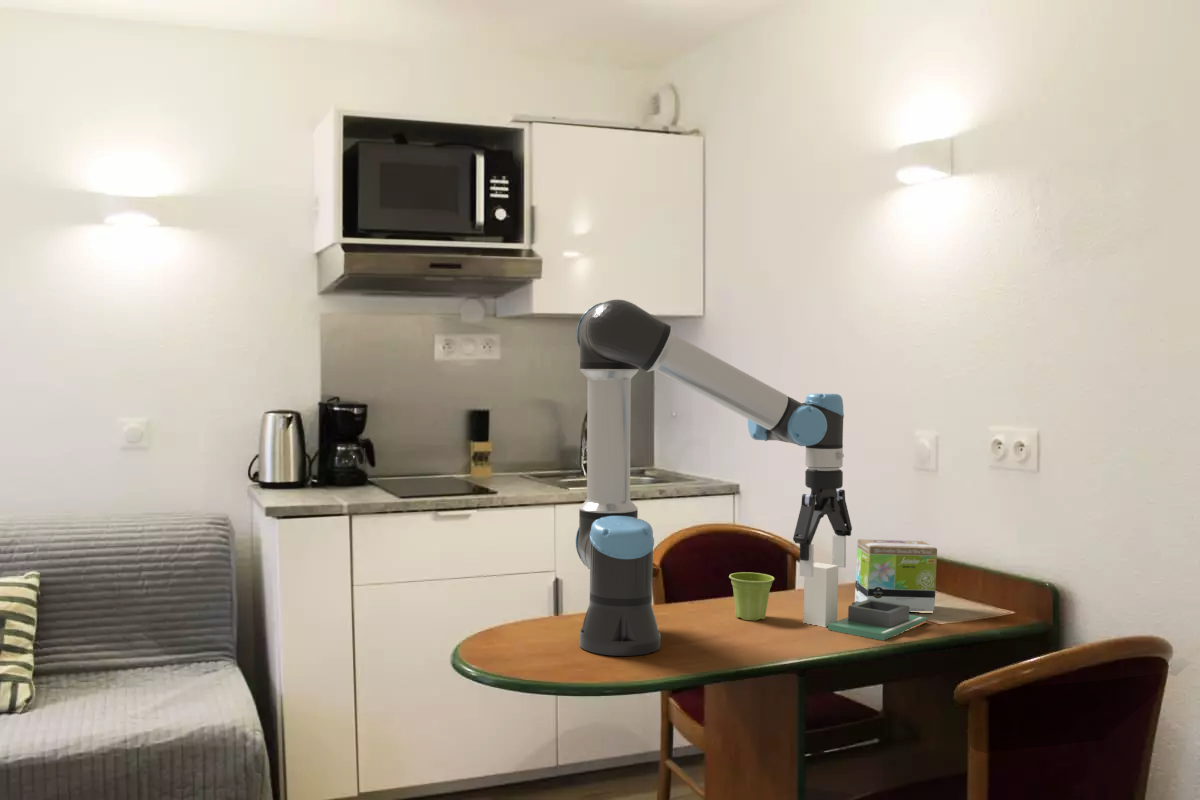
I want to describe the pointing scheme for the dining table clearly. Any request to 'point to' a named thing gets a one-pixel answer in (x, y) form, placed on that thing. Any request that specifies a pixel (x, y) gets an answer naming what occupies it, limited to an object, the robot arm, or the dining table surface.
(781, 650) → the dining table surface
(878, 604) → the board
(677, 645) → the dining table surface
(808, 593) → the plug
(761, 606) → the plant pot
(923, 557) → the tea box
